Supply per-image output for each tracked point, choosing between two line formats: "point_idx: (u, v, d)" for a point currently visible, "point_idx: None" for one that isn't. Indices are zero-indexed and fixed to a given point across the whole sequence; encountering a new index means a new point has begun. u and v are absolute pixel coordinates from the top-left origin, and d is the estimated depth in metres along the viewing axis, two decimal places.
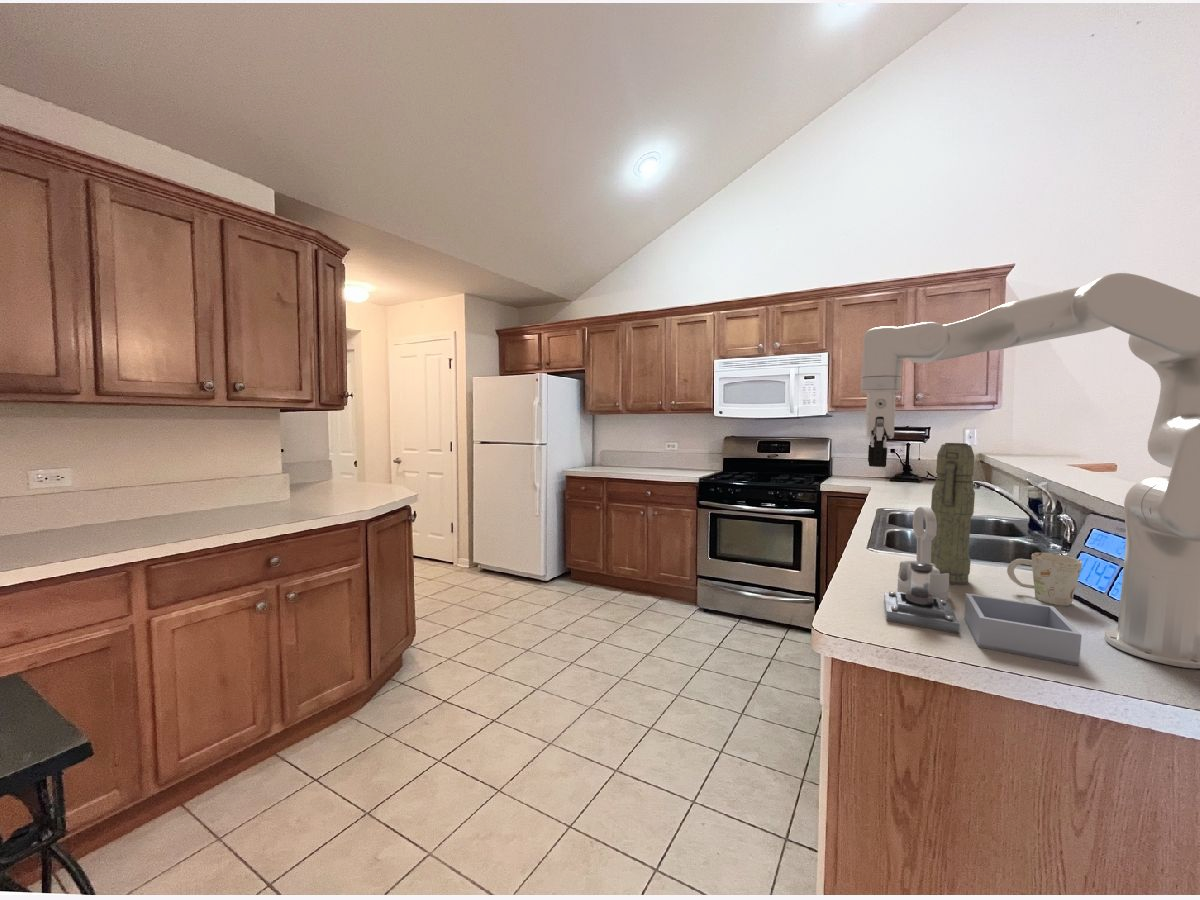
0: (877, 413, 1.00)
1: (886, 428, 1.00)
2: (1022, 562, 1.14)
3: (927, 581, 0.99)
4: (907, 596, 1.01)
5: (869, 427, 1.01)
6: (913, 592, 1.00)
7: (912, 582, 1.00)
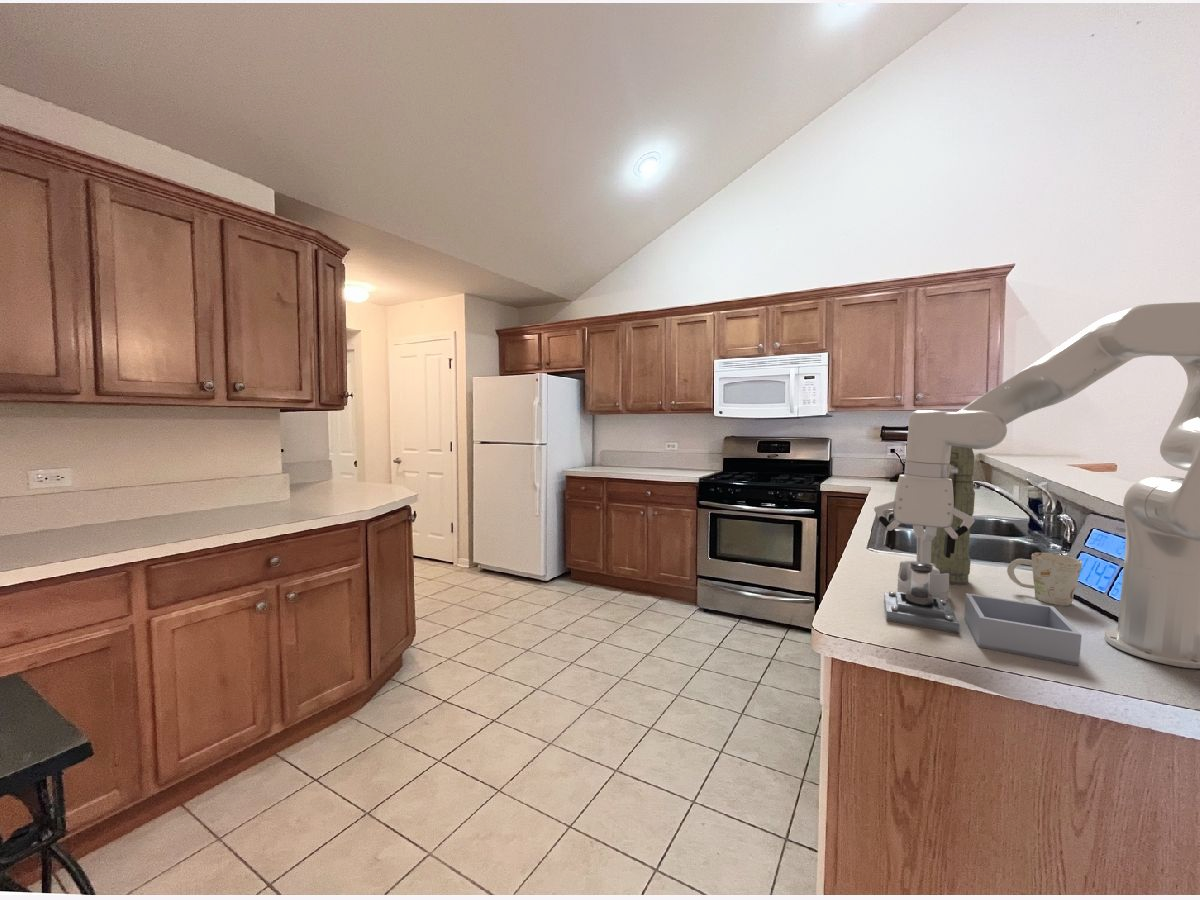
0: None
1: None
2: (1022, 562, 1.14)
3: (927, 581, 0.99)
4: (907, 596, 1.01)
5: (952, 518, 0.96)
6: (913, 592, 1.00)
7: (912, 582, 1.00)
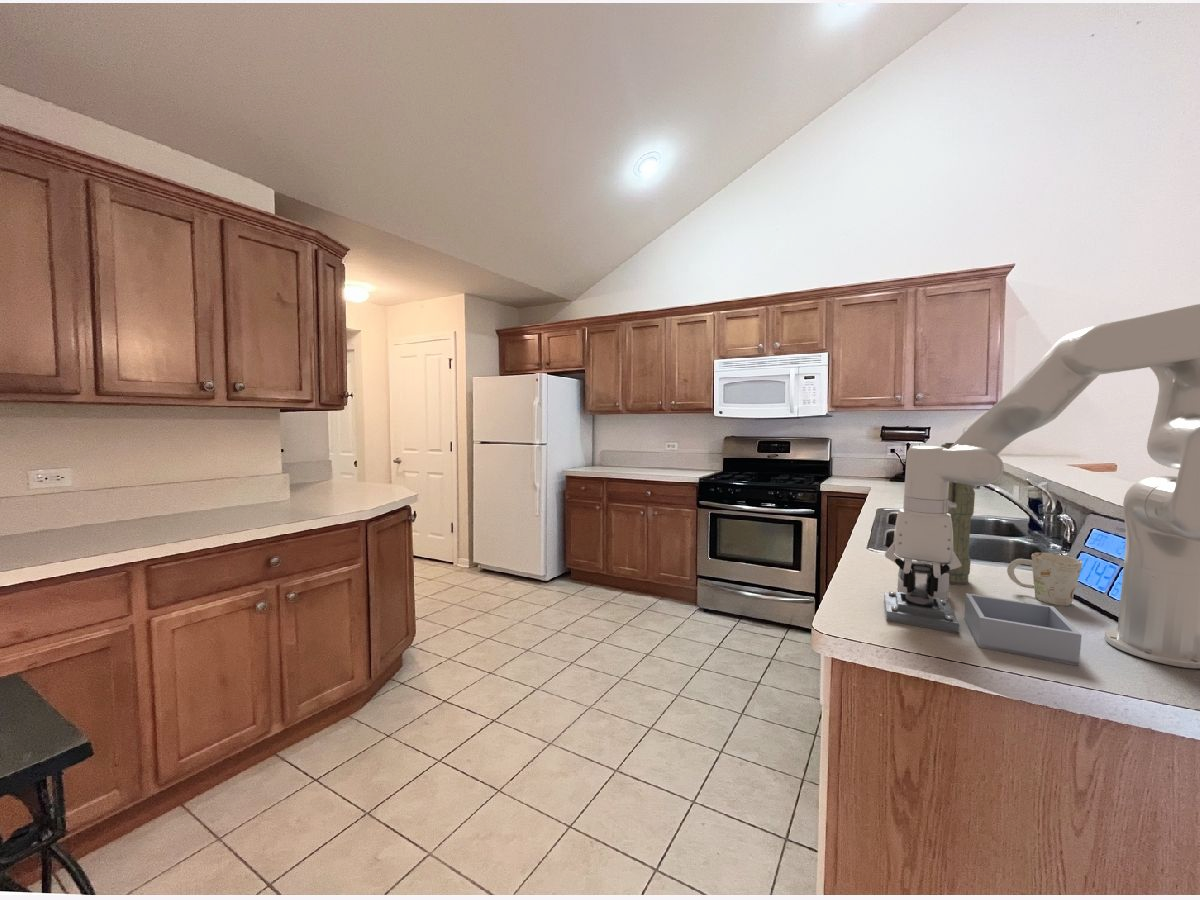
0: None
1: None
2: (1022, 562, 1.14)
3: (927, 581, 0.99)
4: (907, 596, 1.01)
5: (952, 553, 0.96)
6: (913, 592, 1.00)
7: (912, 582, 1.00)
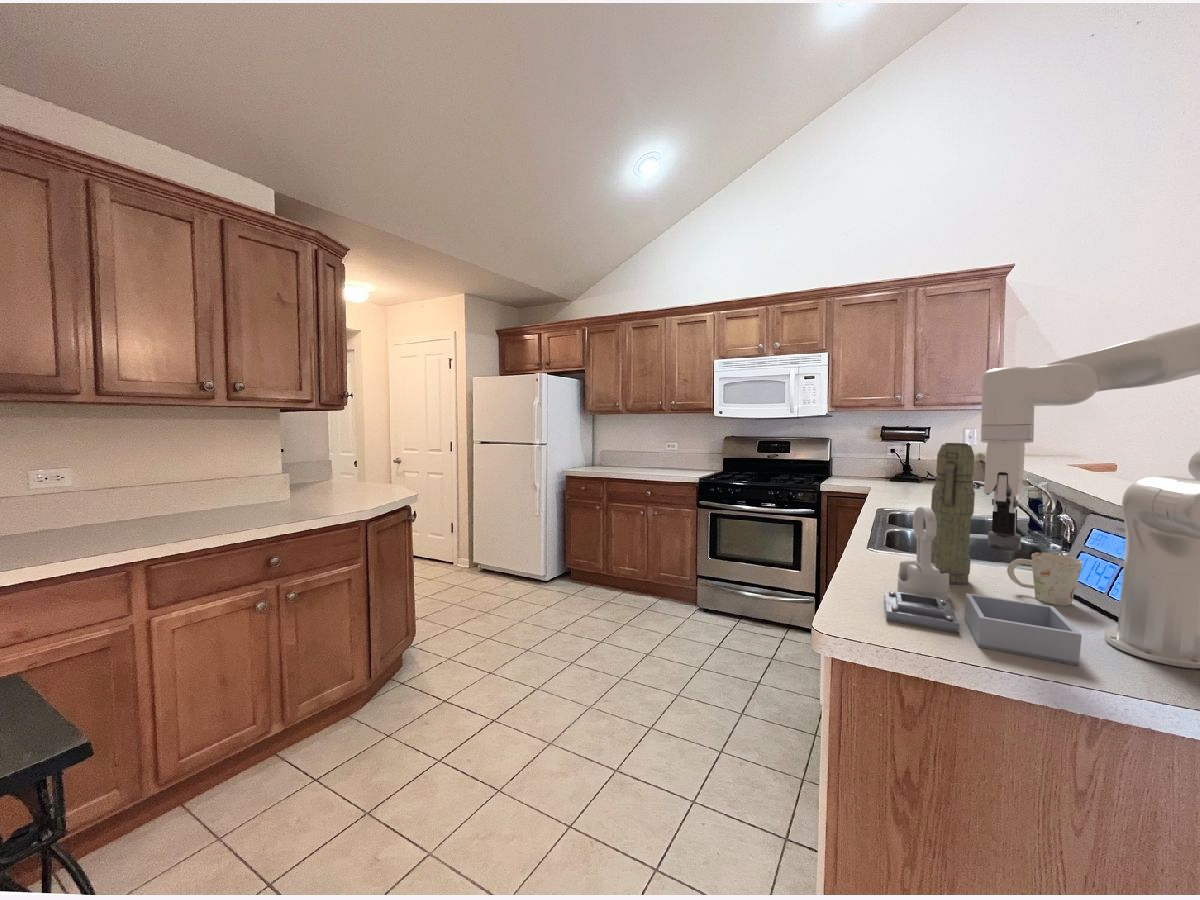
0: None
1: None
2: (1022, 562, 1.14)
3: None
4: (1009, 539, 0.89)
5: None
6: None
7: None
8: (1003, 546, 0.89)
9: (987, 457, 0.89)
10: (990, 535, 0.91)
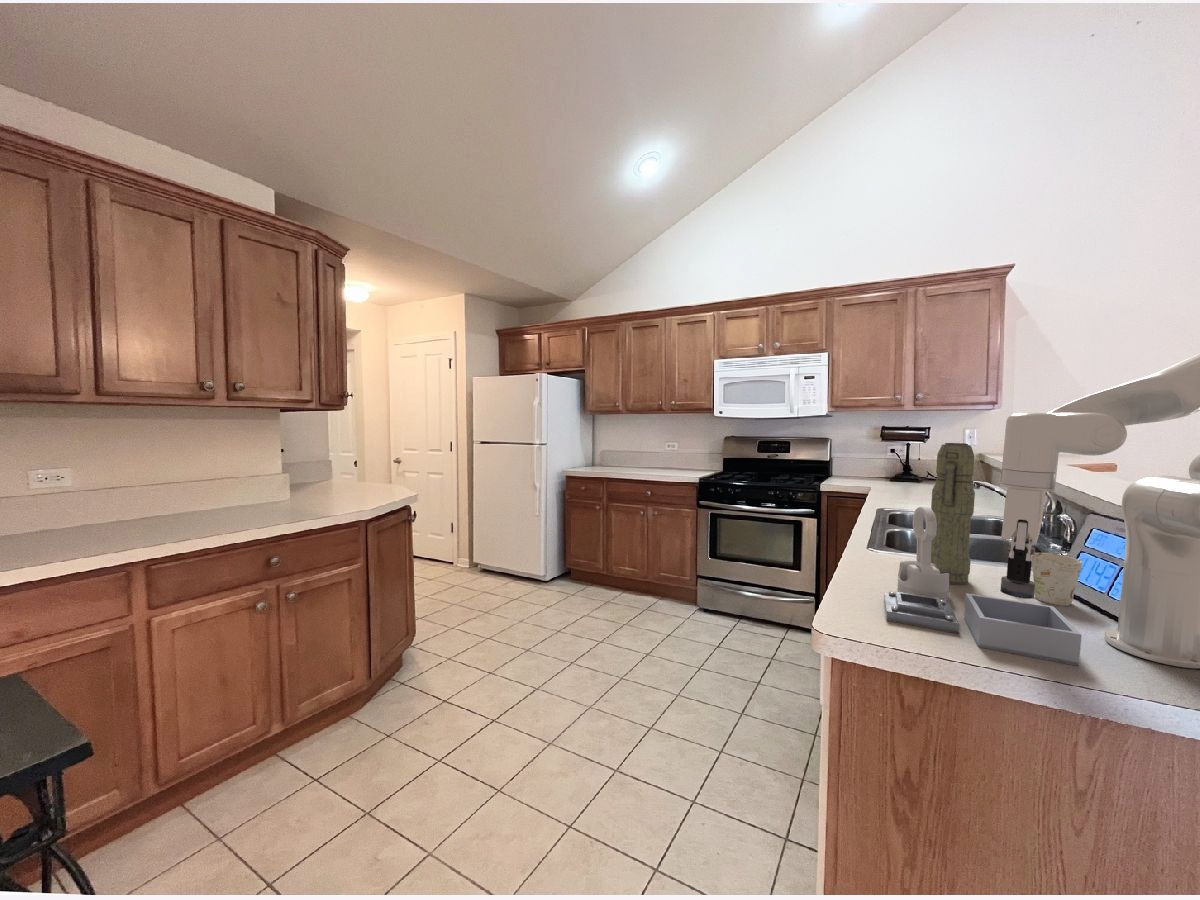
0: None
1: None
2: None
3: None
4: (1023, 587, 0.87)
5: None
6: None
7: None
8: (1017, 593, 0.88)
9: (1007, 503, 0.87)
10: (1004, 581, 0.90)
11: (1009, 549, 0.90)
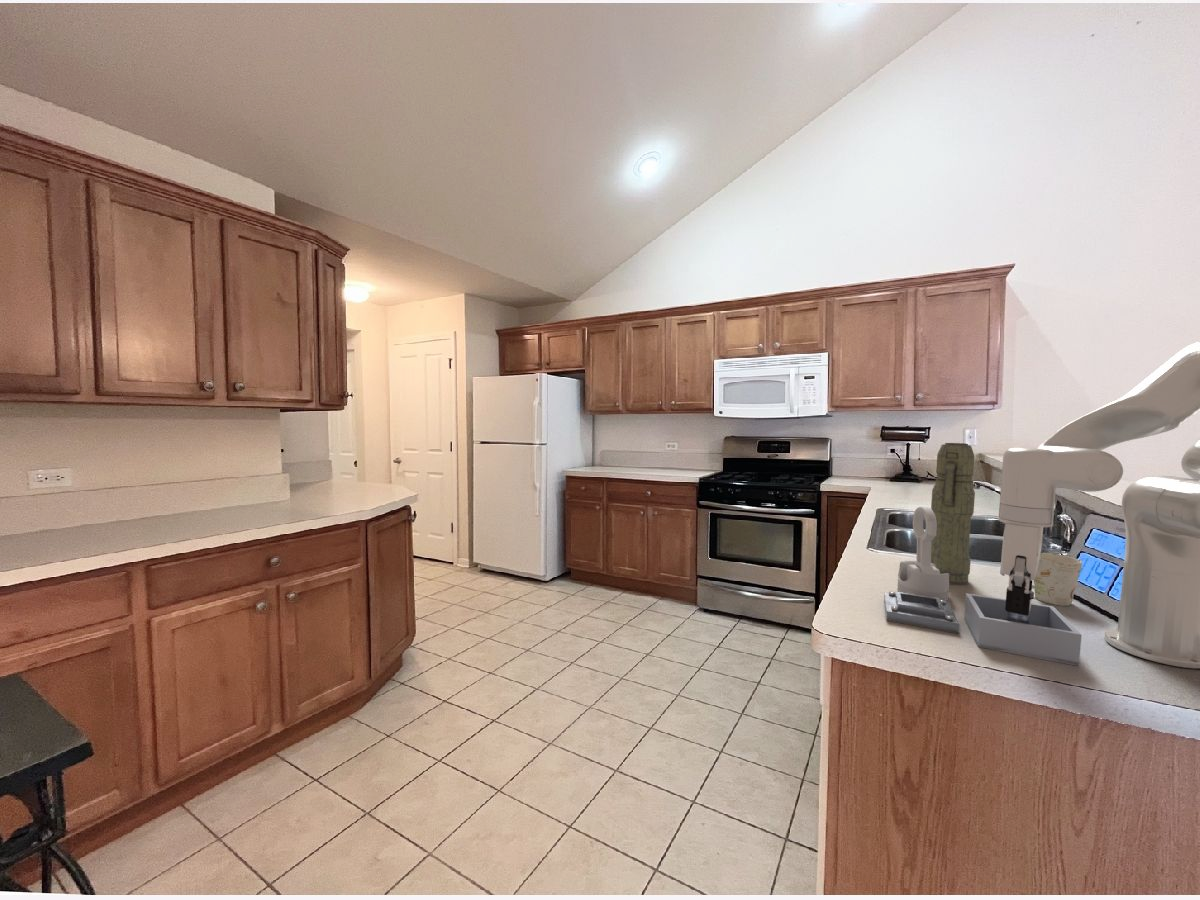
0: None
1: None
2: None
3: None
4: None
5: None
6: None
7: None
8: None
9: (1005, 538, 0.87)
10: None
11: None
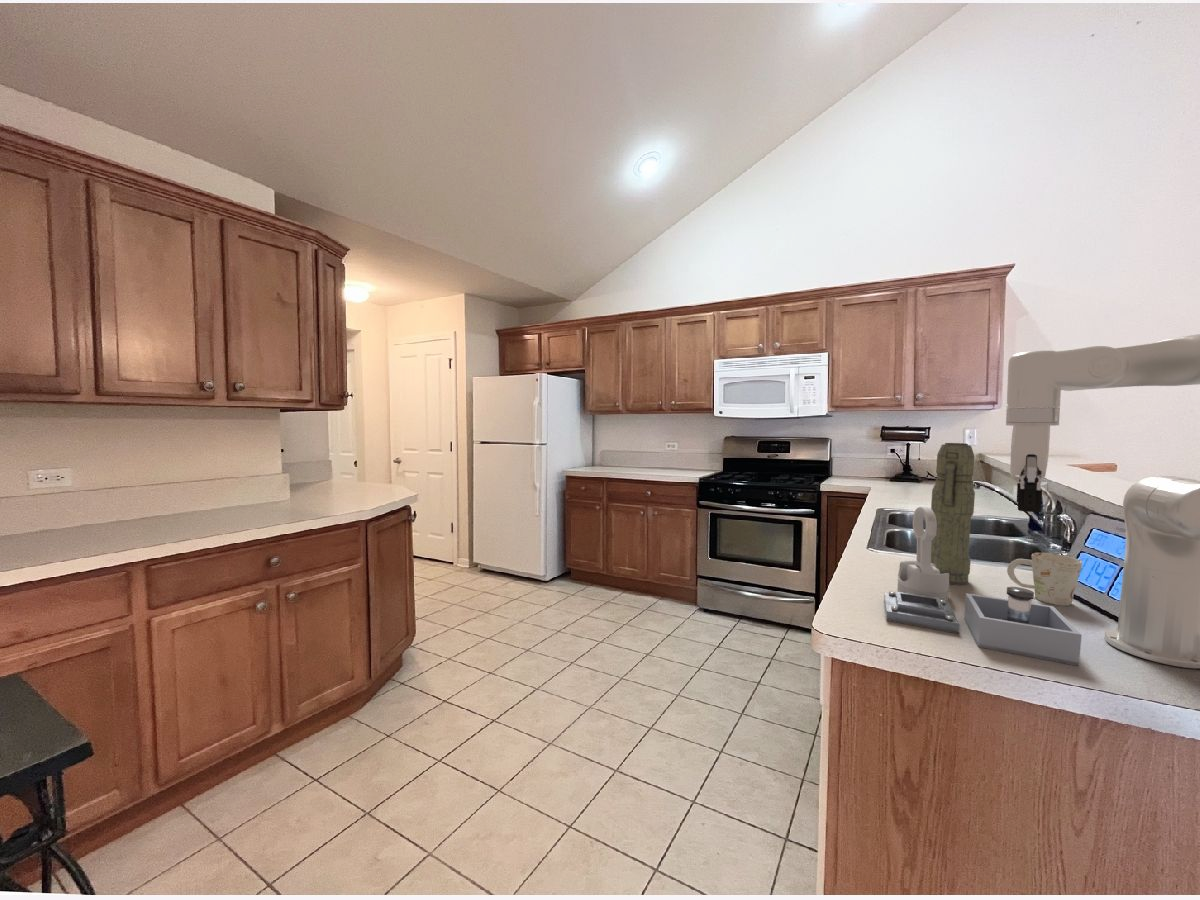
0: None
1: None
2: (1022, 562, 1.14)
3: None
4: None
5: None
6: None
7: (1023, 614, 0.89)
8: None
9: (1015, 440, 0.89)
10: None
11: (1008, 593, 0.90)
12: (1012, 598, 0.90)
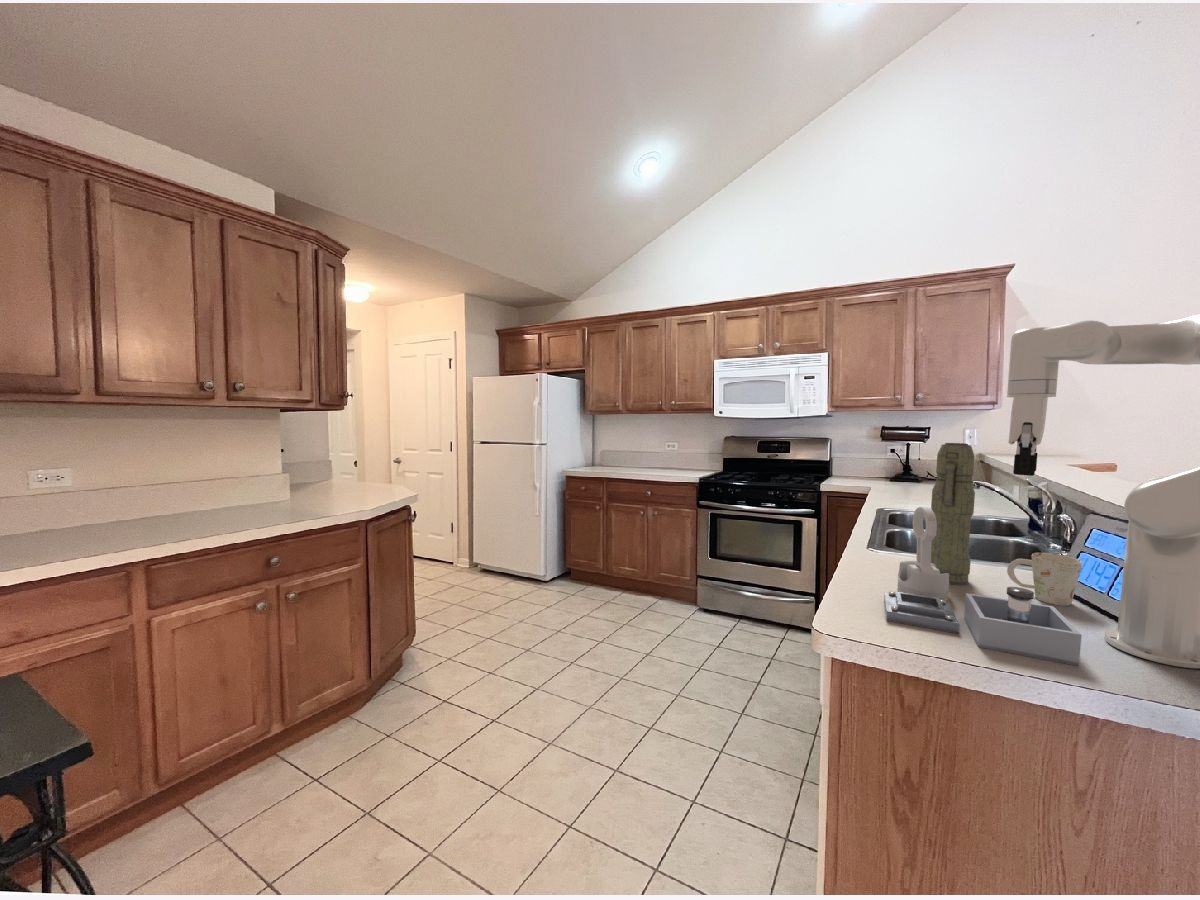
0: None
1: None
2: (1022, 562, 1.14)
3: None
4: None
5: None
6: None
7: (1023, 614, 0.89)
8: None
9: (1014, 409, 0.97)
10: None
11: (1008, 593, 0.90)
12: (1012, 598, 0.90)
